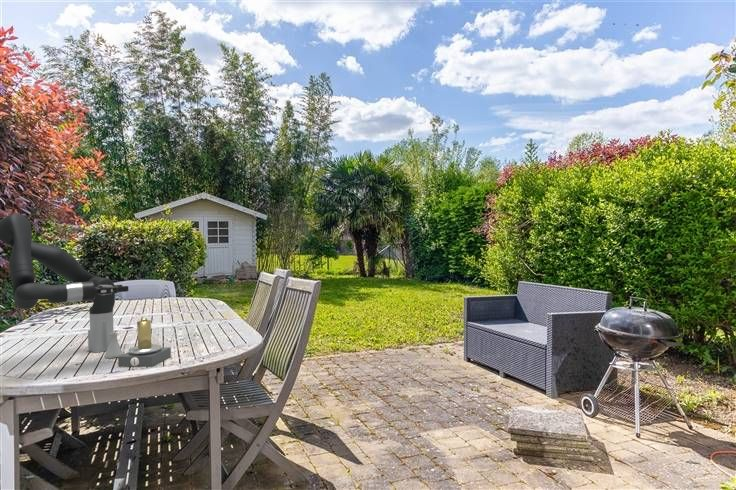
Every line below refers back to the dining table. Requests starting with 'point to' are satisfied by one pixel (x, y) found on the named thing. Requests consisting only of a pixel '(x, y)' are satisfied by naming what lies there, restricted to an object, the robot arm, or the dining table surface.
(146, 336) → the brass weight
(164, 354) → the base
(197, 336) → the dining table surface
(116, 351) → the flask
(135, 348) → the scale pan
